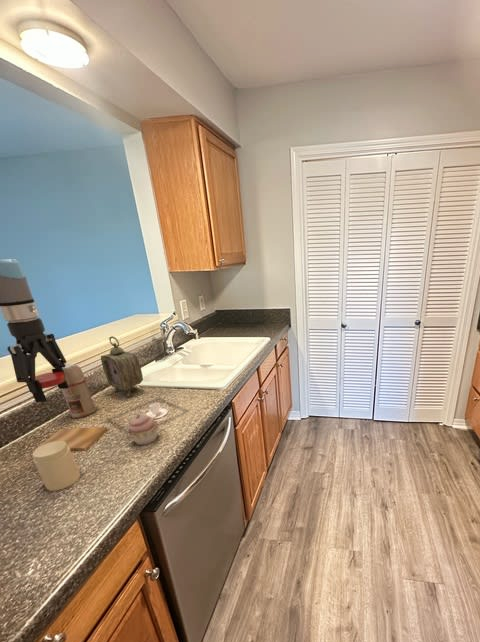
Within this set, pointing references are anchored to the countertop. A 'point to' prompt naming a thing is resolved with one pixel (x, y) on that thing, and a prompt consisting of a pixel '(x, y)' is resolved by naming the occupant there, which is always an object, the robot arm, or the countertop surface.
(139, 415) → the cupcake
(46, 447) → the jar
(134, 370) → the tabletop clock
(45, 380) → the lid
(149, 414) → the teacup and saucer
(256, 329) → the countertop surface
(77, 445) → the board
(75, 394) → the tan tall cylinder
